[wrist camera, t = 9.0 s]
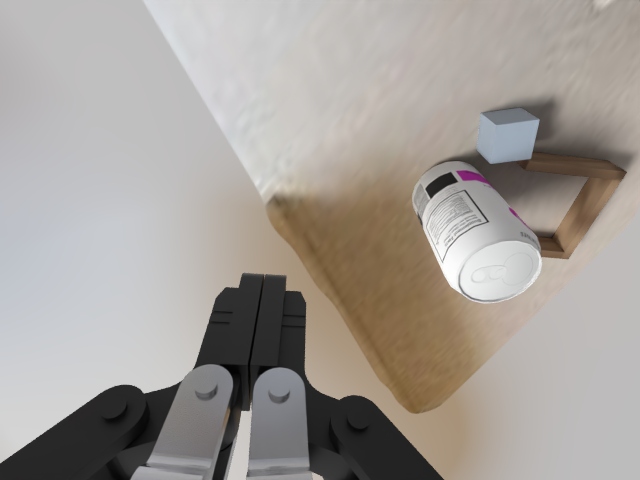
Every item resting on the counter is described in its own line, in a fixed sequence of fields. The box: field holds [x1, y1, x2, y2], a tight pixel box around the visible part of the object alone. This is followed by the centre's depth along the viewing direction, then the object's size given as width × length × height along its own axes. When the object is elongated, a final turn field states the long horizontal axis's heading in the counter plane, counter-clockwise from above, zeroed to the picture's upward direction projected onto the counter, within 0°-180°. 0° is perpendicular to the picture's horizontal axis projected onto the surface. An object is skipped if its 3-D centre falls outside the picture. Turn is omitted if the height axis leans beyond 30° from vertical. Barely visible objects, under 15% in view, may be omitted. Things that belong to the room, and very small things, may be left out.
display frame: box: [516, 152, 627, 259], centre depth 42 cm, size 12×11×3 cm
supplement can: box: [412, 161, 542, 303], centre depth 36 cm, size 8×8×15 cm
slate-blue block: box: [477, 107, 540, 164], centre depth 37 cm, size 4×4×4 cm
